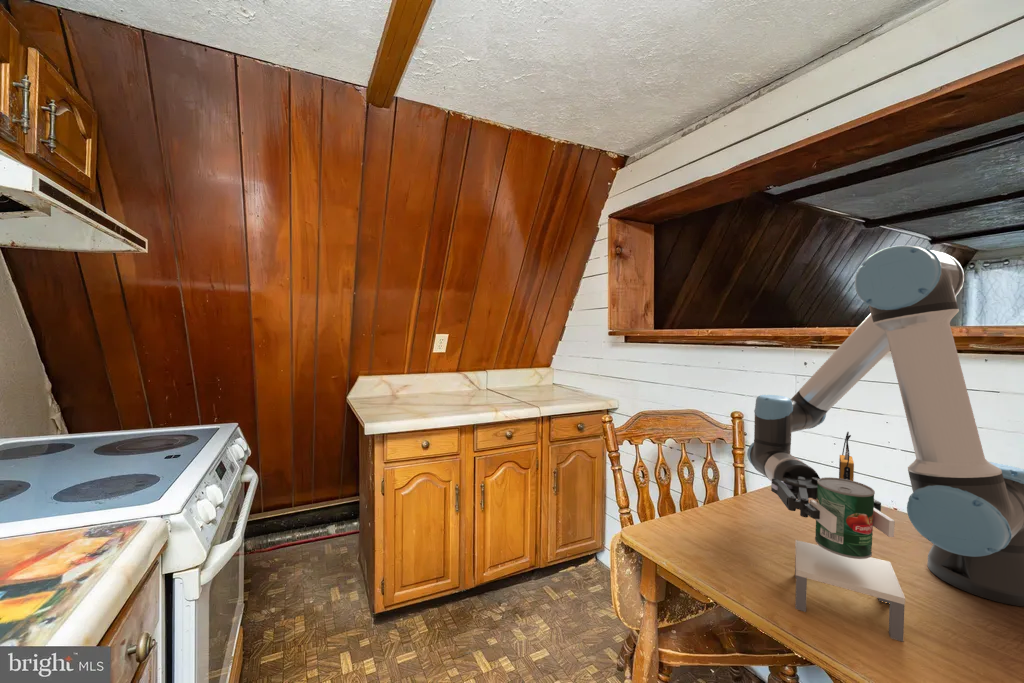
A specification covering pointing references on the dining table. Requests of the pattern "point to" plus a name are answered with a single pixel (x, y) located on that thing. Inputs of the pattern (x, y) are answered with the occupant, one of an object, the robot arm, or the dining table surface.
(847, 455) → the multimeter
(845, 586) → the shelf
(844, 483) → the canned tomato
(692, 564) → the dining table surface
